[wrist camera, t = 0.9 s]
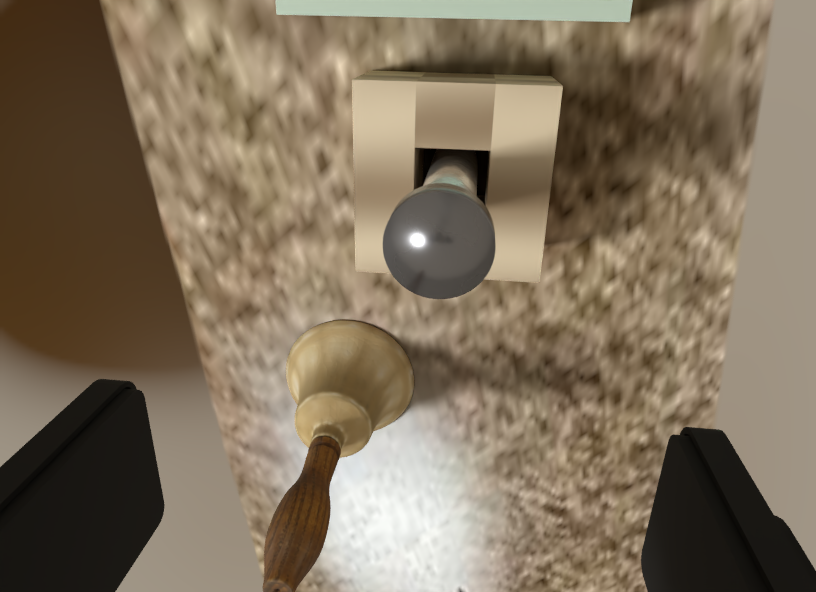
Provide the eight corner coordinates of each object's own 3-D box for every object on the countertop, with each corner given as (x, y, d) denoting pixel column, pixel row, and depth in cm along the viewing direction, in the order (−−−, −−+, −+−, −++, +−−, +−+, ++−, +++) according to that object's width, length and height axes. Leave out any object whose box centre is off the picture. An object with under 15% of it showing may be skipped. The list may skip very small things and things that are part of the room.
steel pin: (420, 124, 32) (382, 189, 20) (494, 127, 31) (500, 195, 19) (418, 196, 33) (382, 295, 21) (488, 199, 33) (490, 302, 21)
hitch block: (371, 70, 31) (352, 79, 26) (551, 75, 30) (563, 86, 25) (372, 238, 35) (355, 271, 30) (531, 247, 34) (539, 282, 29)
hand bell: (410, 319, 36) (362, 515, 22) (417, 431, 40) (380, 665, 25) (278, 319, 38) (150, 506, 23) (296, 428, 41) (194, 651, 27)
